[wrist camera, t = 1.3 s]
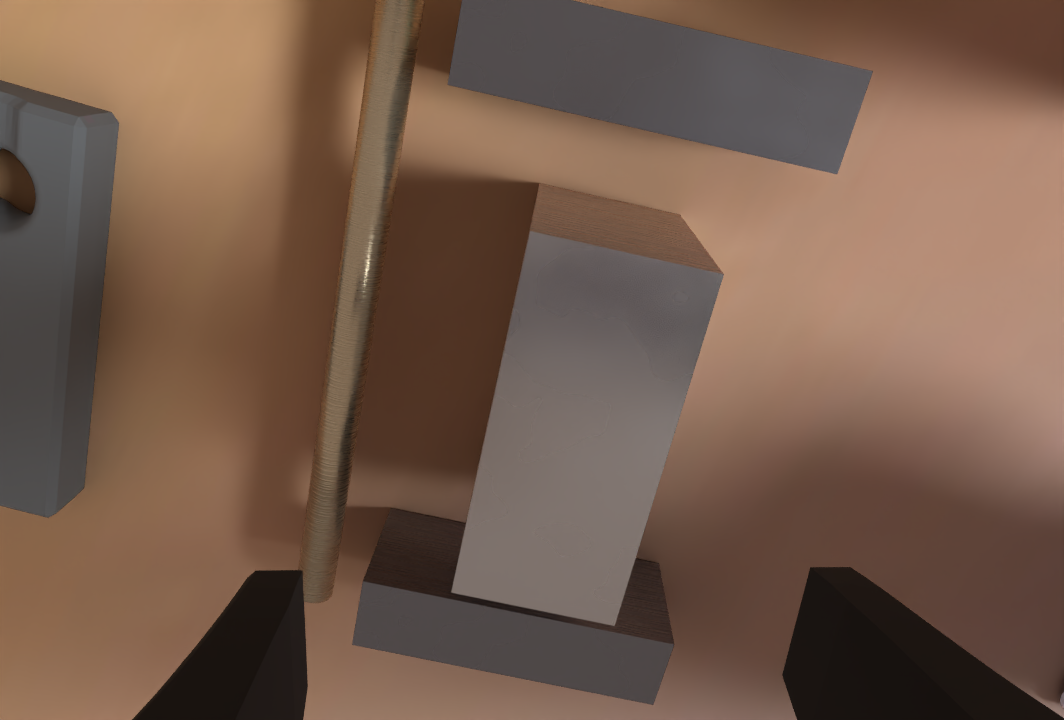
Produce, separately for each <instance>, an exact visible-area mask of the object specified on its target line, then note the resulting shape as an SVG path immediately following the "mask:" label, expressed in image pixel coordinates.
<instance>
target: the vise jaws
mask: <svg viewBox="0 0 1064 720" xmlns="http://www.w3.org/2000/svg"><path fill="white" fill-rule="evenodd" d="M424 2H425V0H376V1H375V9H374V16H373V23H372V31H371V38H370V45H369V53H368V60H367V68H366V75H365V82H364V90H363V97H362V104H361V112H360V119H359V127H358V134H357V141H356V149H355V156H354V163H353V171H352V178H351V186H350V193H349V200H348V208H347V215H346V222H345V230H344V237H343V244H342V252H341V259H340V267H339V274H338V281H337V289H336V296H335V303H334V311H333V318H332V326H331V333H330V340H329V348H328V355H327V362H326V370H325V377H324V385H323V392H322V399H321V407H320V414H319V421H318V429H317V436H316V444H315V451H314V458H313V466H312V473H311V480H310V488H309V495H308V503H307V510H306V517H305V525H304V532H303V539H302V547H301V554H300V562H299V569H298V570H303V592H304V601H305V602H309V603H320V602H324V601H326V600H328V599H329V598H330V597H331V596H332V593H333V587H334V580H335V574H336V568H337V561H338V555H339V548H340V542H341V535H342V529H343V522H344V516H345V510H346V503H347V497H348V490H349V484H350V477H351V471H352V465H353V458H354V452H355V445H356V439H357V432H358V426H359V420H360V413H361V407H362V400H363V394H364V387H365V381H366V375H367V368H368V362H369V355H370V349H371V342H372V336H373V330H374V323H375V317H376V310H377V304H378V297H379V291H380V285H381V278H382V272H383V265H384V259H385V252H386V246H387V239H388V233H389V227H390V220H391V214H392V207H393V201H394V194H395V188H396V182H397V175H398V169H399V162H400V156H401V149H402V143H403V137H404V130H405V124H406V117H407V111H408V104H409V98H410V92H411V85H412V79H413V72H414V66H415V59H416V53H417V47H418V40H419V34H420V27H421V21H422V14H423V8H424ZM872 73H873V71H869V70H865V69H861V68H857V67H852V66H848V65H844V64H840V63H835V62H831V61H827V60H823V59H818V58H814V57H810V56H806V55H801V54H797V53H793V52H789V51H785V50H780V49H776V48H772V47H768V46H763V45H759V44H755V43H751V42H746V41H742V40H738V39H734V38H729V37H725V36H721V35H717V34H712V33H708V32H704V31H700V30H695V29H691V28H687V27H683V26H679V25H674V24H670V23H666V22H662V21H657V20H653V19H649V18H645V17H640V16H636V15H632V14H628V13H623V12H619V11H615V10H611V9H606V8H602V7H598V6H594V5H589V4H585V3H581V2H577V1H572V0H462V4H461V10H460V16H459V21H458V27H457V33H456V39H455V45H454V51H453V57H452V62H451V68H450V74H449V80H448V85H451V86H455V87H460V88H464V89H468V90H473V91H477V92H481V93H486V94H490V95H494V96H499V97H503V98H507V99H512V100H516V101H521V102H525V103H529V104H534V105H538V106H542V107H547V108H551V109H555V110H560V111H564V112H568V113H573V114H577V115H581V116H586V117H590V118H594V119H599V120H603V121H607V122H612V123H616V124H621V125H625V126H629V127H634V128H638V129H642V130H647V131H651V132H655V133H660V134H664V135H668V136H673V137H677V138H681V139H686V140H690V141H694V142H699V143H703V144H708V145H712V146H716V147H721V148H725V149H729V150H734V151H738V152H742V153H747V154H751V155H755V156H760V157H764V158H768V159H773V160H777V161H781V162H786V163H790V164H795V165H799V166H803V167H808V168H812V169H816V170H821V171H825V172H829V173H834V174H837V173H838V171H839V168H840V165H841V162H842V159H843V156H844V153H845V150H846V148H847V145H848V142H849V139H850V136H851V133H852V130H853V127H854V124H855V122H856V119H857V116H858V113H859V110H860V107H861V104H862V101H863V99H864V96H865V93H866V90H867V87H868V84H869V81H870V78H871V75H872ZM465 525H466V524H465V523H461V522H456V521H451V520H446V519H441V518H436V517H432V516H427V515H422V514H417V513H412V512H407V511H403V510H398V509H393V508H391V509H390V512H389V514H388V517H387V520H386V522H385V525H384V528H383V530H382V533H381V535H380V538H379V541H378V543H377V546H376V549H375V551H374V554H373V556H372V559H371V562H370V564H369V567H368V569H367V572H366V575H365V577H364V580H363V584H362V590H361V596H360V602H359V608H358V613H357V619H356V625H355V631H354V637H353V643H352V645H356V646H361V647H366V648H371V649H376V650H381V651H386V652H391V653H396V654H401V655H406V656H411V657H416V658H421V659H426V660H431V661H436V662H441V663H446V664H451V665H456V666H461V667H466V668H471V669H476V670H481V671H486V672H491V673H496V674H501V675H506V676H511V677H516V678H521V679H526V680H531V681H536V682H541V683H546V684H551V685H556V686H561V687H566V688H571V689H576V690H582V691H587V692H592V693H597V694H602V695H607V696H612V697H617V698H622V699H627V700H632V701H637V702H642V703H647V704H652V705H653V704H654V701H655V698H656V695H657V692H658V690H659V687H660V684H661V681H662V678H663V675H664V672H665V669H666V667H667V664H668V661H669V658H670V655H671V652H672V649H673V646H674V641H673V636H672V631H671V625H670V620H669V615H668V609H667V604H666V599H665V593H664V588H663V583H662V578H661V572H660V567H659V564H658V563H654V562H649V561H644V560H639V559H635V562H634V565H633V568H632V571H631V575H630V578H629V581H628V584H627V588H626V591H625V594H624V597H623V600H622V604H621V607H620V610H619V613H618V616H617V620H616V623H615V626H612V625H608V624H603V623H598V622H593V621H588V620H583V619H578V618H573V617H568V616H564V615H559V614H554V613H549V612H544V611H539V610H534V609H529V608H524V607H519V606H515V605H510V604H505V603H500V602H495V601H490V600H485V599H480V598H475V597H471V596H466V595H461V594H456V593H451V591H452V586H453V582H454V577H455V572H456V567H457V563H458V558H459V553H460V548H461V544H462V539H463V534H464V530H465Z"/></svg>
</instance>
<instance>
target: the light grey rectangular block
mask: <svg viewBox="0 0 1064 720" xmlns="http://www.w3.org/2000/svg"><path fill="white" fill-rule="evenodd" d="M723 275H724V274H723V272H722V271H721V270H720V268H719V267H718V266H717V264H716V263H715V262H714V260H713V259H712V258H711V256H710V255H709V253H708V252H707V251H706V249H705V248H704V247H703V245H702V244H701V243H700V241H699V240H698V238H697V237H696V236H695V234H694V233H693V232H692V230H691V229H690V228H689V226H688V225H687V224H686V222H685V221H684V219H683V218H682V217H681V215H678V214H674V213H669V212H665V211H661V210H656V209H652V208H647V207H643V206H638V205H634V204H630V203H625V202H621V201H616V200H612V199H607V198H603V197H599V196H594V195H590V194H585V193H581V192H576V191H572V190H568V189H563V188H559V187H554V186H550V185H545V184H541V183H540V184H539V188H538V193H537V197H536V202H535V207H534V211H533V216H532V220H531V225H530V229H529V234H528V239H527V243H526V248H525V252H524V257H523V262H522V266H521V271H520V275H519V280H518V284H517V289H516V294H515V298H514V303H513V307H512V312H511V317H510V321H509V326H508V330H507V335H506V339H505V344H504V349H503V353H502V358H501V362H500V367H499V372H498V376H497V381H496V385H495V390H494V395H493V399H492V404H491V408H490V413H489V417H488V422H487V427H486V431H485V436H484V440H483V445H482V450H481V454H480V459H479V463H478V468H477V473H476V477H475V482H474V487H473V492H472V496H471V501H470V506H469V511H468V515H467V520H466V525H465V530H464V534H463V539H462V544H461V548H460V553H459V558H458V563H457V567H456V572H455V577H454V582H453V586H452V591H451V593H456V594H461V595H466V596H471V597H475V598H480V599H485V600H490V601H495V602H500V603H505V604H510V605H515V606H519V607H524V608H529V609H534V610H539V611H544V612H549V613H554V614H559V615H564V616H568V617H573V618H578V619H583V620H588V621H593V622H598V623H603V624H608V625H612V626H615V623H616V620H617V616H618V613H619V610H620V607H621V604H622V600H623V597H624V594H625V591H626V588H627V584H628V581H629V578H630V575H631V571H632V568H633V565H634V562H635V559H636V555H637V552H638V549H639V546H640V542H641V539H642V536H643V533H644V530H645V526H646V523H647V520H648V517H649V514H650V510H651V507H652V504H653V501H654V497H655V494H656V491H657V488H658V485H659V481H660V478H661V475H662V472H663V468H664V465H665V462H666V459H667V456H668V452H669V449H670V446H671V443H672V440H673V436H674V433H675V430H676V427H677V423H678V420H679V417H680V414H681V411H682V407H683V404H684V401H685V398H686V394H687V391H688V388H689V385H690V382H691V378H692V375H693V372H694V369H695V366H696V362H697V359H698V356H699V353H700V349H701V346H702V343H703V340H704V337H705V333H706V330H707V327H708V324H709V320H710V317H711V314H712V311H713V308H714V304H715V301H716V298H717V295H718V291H719V288H720V285H721V282H722V279H723Z"/></svg>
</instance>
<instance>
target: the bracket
mask: <svg viewBox="0 0 1064 720" xmlns="http://www.w3.org/2000/svg"><path fill="white" fill-rule="evenodd" d="M118 128H119V122H118V121H117V119H116V118H115V116H114V115H113V114H112V112H109V111H105V110H102V109H98V108H95V107H91V106H88V105H85V104H81V103H78V102H74V101H71V100H67V99H64V98H60V97H57V96H53V95H50V94H46V93H42V92H38V91H35V90H31V89H28V88H25V87H22V86H19V85H15V84H12V83H8V82H5V81H1V80H0V150H1V149H2V148H3V149H6V150H8V151H10V152H11V153H13V154H14V155H15V156H16V157H17V158H18V159H19V161H20V162H21V163H22V164H23V165H24V167H25V168H26V169H27V171H28V173H29V175H30V177H31V178H32V181H33V184H34V188H35V194H36V201H35V207H34V210H33V212H32V214H28V213H25V212H23V211H20V210H18V209H17V208H15V207H14V206H12V205H11V204H10V203H9V202H7V201H6V200H5V199H3V198H1V197H0V506H4V507H8V508H11V509H15V510H19V511H23V512H27V513H31V514H35V515H39V516H43V517H47V518H49V517H50V516H52V515H54V514H56V513H57V512H58V511H59V510H60V509H62V508H63V507H64V506H65V505H66V504H67V503H68V502H70V501H71V500H72V499H73V498H74V497H75V496H76V495H77V494H78V493H79V492H80V491H81V490H82V489H83V488H84V484H85V473H86V463H87V452H88V442H89V432H90V421H91V411H92V400H93V390H94V379H95V369H96V358H97V348H98V337H99V327H100V316H101V306H102V295H103V285H104V274H105V264H106V254H107V243H108V233H109V222H110V212H111V201H112V191H113V180H114V170H115V159H116V149H117V138H118Z"/></svg>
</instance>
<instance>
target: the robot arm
mask: <svg viewBox="0 0 1064 720" xmlns="http://www.w3.org/2000/svg"><path fill="white" fill-rule="evenodd" d="M782 675H783V679H784V682H785V685H786V688H787V691H788V694H789V697H790V700H791V703H792V706H793V709H794V712H795V715H796V717H797V720H1064V718H1063V717H1061V716H1060V715H1058V714H1057V713H1055V712H1054V711H1052V710H1051V709H1049V708H1048V707H1046V706H1045V705H1043V704H1042V703H1040V702H1039V701H1037V700H1036V699H1034V698H1033V697H1031V696H1030V695H1028V694H1027V693H1025V692H1024V691H1022V690H1021V689H1019V688H1018V687H1016V686H1015V685H1013V684H1012V683H1011V682H1009V681H1008V680H1006V679H1005V678H1003V677H1002V676H1001V675H999V674H998V673H996V672H995V671H993V670H992V669H991V668H989V667H988V666H986V665H985V664H984V663H982V662H981V661H979V660H978V659H977V658H975V657H974V656H972V655H971V654H970V653H968V652H967V651H966V650H964V649H963V648H961V647H960V646H959V645H957V644H956V643H955V642H953V641H952V640H950V639H949V638H948V637H946V636H945V635H944V634H942V633H941V632H940V631H938V630H937V629H936V628H934V627H933V626H931V625H930V624H929V623H927V622H926V621H925V620H923V619H922V618H921V617H919V616H918V615H917V614H915V613H914V612H913V611H911V610H910V609H909V608H907V607H906V606H905V605H903V604H902V603H900V602H899V601H898V600H896V599H895V598H894V597H892V596H891V595H890V594H888V593H887V592H885V591H884V590H883V589H881V588H880V587H878V586H877V585H876V584H874V583H873V582H871V581H870V580H868V579H867V578H866V577H864V576H863V575H861V574H860V573H858V572H857V571H855V570H853V569H852V568H850V567H813V568H810V571H809V575H808V579H807V583H806V587H805V590H804V594H803V598H802V602H801V606H800V609H799V613H798V617H797V621H796V625H795V629H794V632H793V636H792V640H791V644H790V648H789V651H788V655H787V659H786V663H785V667H784V671H783V674H782ZM307 687H308V684H307V661H306V638H305V615H304V592H303V570H279V571H255V572H254V573H253V574H251V575H250V576H249V577H248V578H247V579H246V581H245V582H244V583H243V585H242V586H241V588H240V589H239V591H238V592H237V593H236V595H235V596H234V597H233V599H232V600H231V602H230V603H229V604H228V606H227V607H226V608H225V610H224V611H223V612H222V614H221V615H220V616H219V618H218V619H217V620H216V622H215V623H214V624H213V625H212V627H211V628H210V629H209V630H208V632H207V633H206V634H205V636H204V637H203V638H202V639H201V641H200V642H199V643H198V644H197V646H196V647H195V648H194V649H193V650H192V652H191V653H190V654H189V655H188V656H187V658H186V659H185V660H184V661H183V662H182V664H181V665H180V666H179V667H178V668H177V670H176V671H175V672H174V673H173V674H172V676H171V677H170V678H169V679H168V680H167V682H166V683H165V684H164V685H163V686H162V687H161V689H160V690H159V691H158V692H157V693H156V694H155V695H154V697H153V698H152V699H151V700H150V701H149V702H148V703H147V704H146V705H145V706H144V707H143V709H142V710H141V711H140V712H139V713H138V714H137V715H136V716H135V717H134V718H133V719H132V720H303V716H304V709H305V702H306V694H307ZM1060 703H1061V706H1062V707H1063V708H1064V692H1063V693H1062V695H1061V698H1060Z"/></svg>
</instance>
